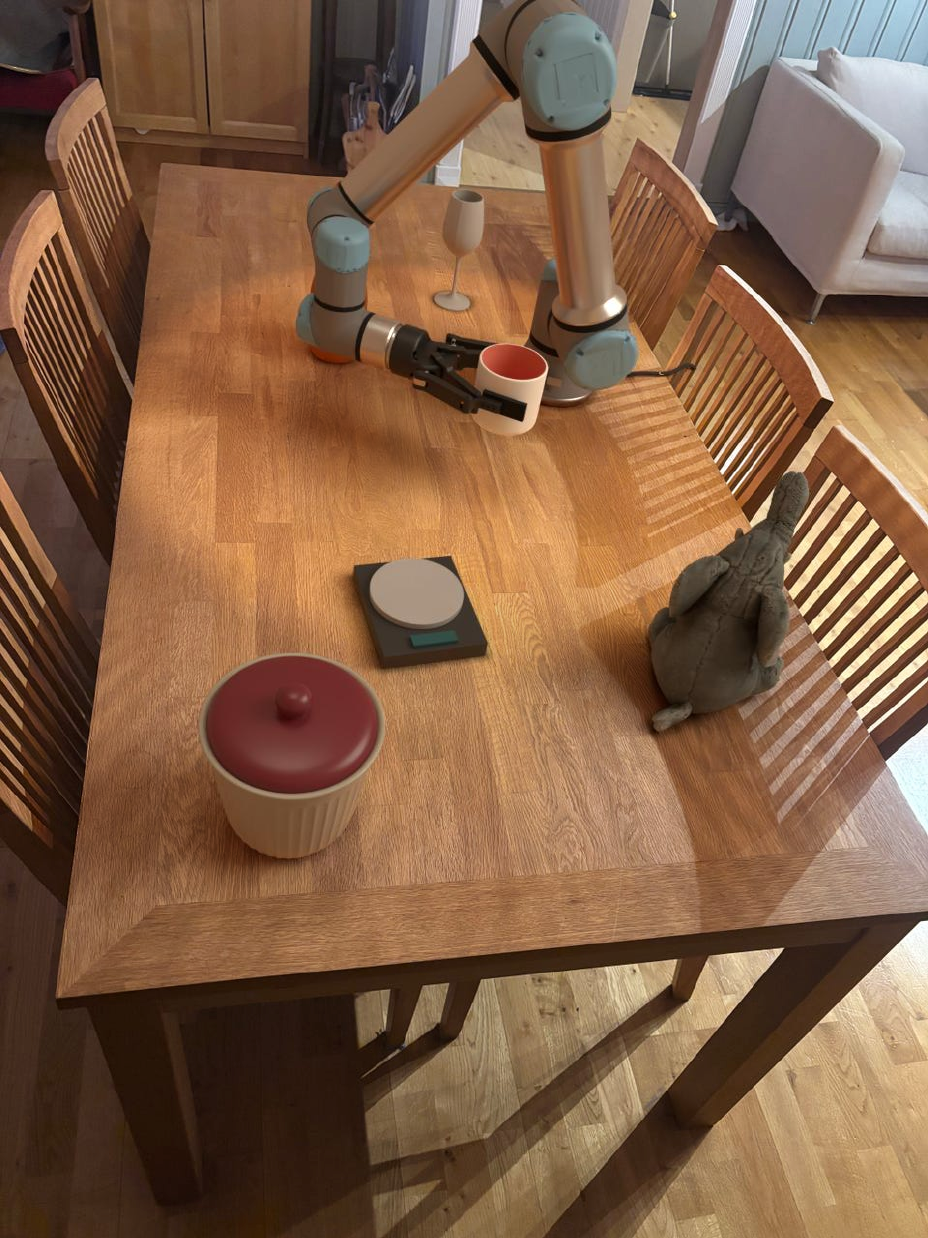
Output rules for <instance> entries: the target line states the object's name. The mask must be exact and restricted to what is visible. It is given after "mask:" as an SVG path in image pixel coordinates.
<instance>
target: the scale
mask: <svg viewBox="0 0 928 1238" xmlns="http://www.w3.org/2000/svg"><path fill="white" fill-rule="evenodd" d="M352 580H353V584H354V586H355V589H356V592H357V595H358V599H359V601H360V605H361V608H362V611H363V615H364V617H365V620H366V624H367V627H368V631H369V633H370V636H371V639H372V642H373V645H374V648H375V652H376V655H377V658H378V661H379V664H380V667H381V669H382V670H388V669H393V668H401V667H402V668H403V667H408V666H409V667H411V666H415V665H424V664H431V663H437V662H439V663H440V662H445V661H453V660H459V659H460V660H461V659H468V658H476V657H482V656H486V654H487V650H488V646H489V645H488V644H489V642H488V640H487V636H486V635H485V633H484V630H483V628H482V625H481V623H480V621H479V618H478V616H477V614H476V611H475V609H474V607H473V604H472V602H471V600H470V597H469V594H468V593H467V590H466V588H465V585H464V583H463V581H462V578H461V576H460V574H459V572H458V569H457V567H456V564H455V562H454V559H453V557H452V555H443V556H432V557H423V558H422V557H421V558H417V557H406V558H398V559H395V560H392V561H384V562H374V563H373V562H372V563H363V564H354V565H353V570H352Z"/></svg>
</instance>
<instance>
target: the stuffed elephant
mask: <svg viewBox="0 0 928 1238" xmlns="http://www.w3.org/2000/svg"><path fill="white" fill-rule="evenodd" d="M809 496H810V488H809V482H808V479H807V478H806V475H805V474H804V473H803V471H794V470H789V471H787V472H785V473H784V474H783V475H782V476H781V477H780V479H779V480H778V481H777V482H776V485H775V486H774V488H773V492H772V497H771V500H770V505H769V508H768V510H767V513H766V518H764V519H762V520H760V521H759V522H757V523H756V524H755V525H753V527H752V528H751V529H750V530H748V531H747V532H745V533H744V530H743V529H742V527H738V528H736V530H735V532H734V538H733V539H734V540H733V541H731V542H730V543H728V544H727V545H725V546H724V548H723V549H721V550H720V551H719V552H718V553H716V554H714V555H713V554H711V555H705V556H703V557H700V558H698V559H696V560H694V561H692V562H691V563H689V564H687V565H686V566H685V567H684V568H683V570H682V571H680V574H678V576H677V577H676V579H675V581H674V582H673V584H672V587H671V591H670V593H669V594H670V595H669V599H668V606H665V607H662V608H661V609H659V610H658V611H657V612H656V614H655V615H654V617H653V618H652V620H651V622H650V624H649V625H648V628H647V634H648V635H647V637H648V641H649V646H650V648H651V652H650V660H651V664H652V667H653V671H654V674H655V678H656V681H657V683H658V684H657V685H658V686H659V688H660V689H661V692H662V693H663V695H664V697H665V699H666V701H667V702H668V703H669V704H670V705H671V706H669V707H667V708H663V709H662V710H659V711H657V713H655V714H653V716H652V718H651V720H652V722H653V729H654V730H655V731H656V732H658V733H659V732H660V733H662V732H663V731H665V730H667V729H669V728H671V727H672V726H674V725H677V724H679V723H680V722H683V721H685V720H686V719H688V717H689V716H690V715H691V714H693V715H694V714H695V715H696V714H711V713H715V712H719V711H721V710H724V709H726V708H729V707H731V706H733V705H735V704H737V703H738V702H740V701H743V700H745V699H747V698H748V697H752V696H756V695H759V694H763V693H765V692H767V691H770V690H772V689H773V688H775V687H776V686H777V684H778V682H780V681H781V675H782V672H783V669H784V665H785V663H784V661H785V660H784V659H783V658H782V656H781V655H780V647H781V646H782V645H783V643H784V641H785V639H786V637H787V634H788V633H789V631H790V624H791V613H790V611H791V610H790V604H789V601H788V600H787V597H786V596H785V595H786V594H785V593H784V592H783V589H784V584H785V583H784V581H785V564H787V563H789V562H790V560H791V559H792V557H793V554H792V553H791V552H787V551H788V549H789V547H790V546H791V543H792V540H793V537H794V533H795V529H796V527H797V524H798V523H797V522H798V520H799V517H800V516H801V514H802V513H803V511H804V509H805V506H806V504H807V503H808V501H809Z"/></svg>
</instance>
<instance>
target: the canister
mask: <svg viewBox="0 0 928 1238" xmlns="http://www.w3.org/2000/svg"><path fill="white" fill-rule="evenodd" d="M200 707H201V708H200V711H199V715H198V719H197V720H198V722H197V734H198V739H199V744H200V748H201V750H202V752H203V755H204V757H205V758H206V760H207V761H208V763H209V764H210V766H211V767H212V770H213V774H214V777H215V782H216V786H217V789H218V794H219V795H220V800H221V803H222V806H223V809H224V813H225V815H226V817H227V820H228V822H229V825H230V826H231V828H232V829H233V831H234V833H235V834H236V836H238V837H239V838H240V839H241V841H242V842H243V843H244V844H246V845H248V846H249V847H250V849H253V850H255V851H257V852H258V853H260V854H264V855H267V856H268V857H274V858H277V859H287V860H289V859H299V858H303V857H309V856H310V855H312V854H317V853H319V851H321V850H324V849H325V850H326V848H327V847H328V846H329V845H331V844H333V843H335V842H336V840H337V838H339V837H340V836H341V835H342V834H343V833H344V831H345V829H346V828H347V827H348V825H349V824H350V821H351V819H352V818H353V815H354V813H355V811H356V808H357V805H358V803H359V799H360V798H361V794H362V791H363V788H364V785H365V782H366V779H367V777H368V773H369V770H370V768H371V767H372V766H373V764H374V763H375V761H376V759H377V758H378V756H379V754H380V752H381V750H382V747H383V744H384V741H385V736H386V715H385V710H384V707H383V705H382V702H381V700H380V698H379V696H378V694H377V693H376V691H375V689H374V688H373V687H372V686H371V684H370V683H369V682H368V681H367V680H366V679H365V678H364V677H362V675H360V674H359V673H358V672H357V671H355V670H354V669H352V668H351V667H349V666H347V665H345V664H344V663H342V662H339V661H337V660H335V659H332V658H330V657H326V656H323V655H319V654H313V653H307V652H294V651H293V652H292V651H291V652H290V651H289V652H278V653H272V654H271V653H270V654H266V655H263V656H259V657H256V658H253V659H250V660H248V661H246V662H245V661H244V662H243V663H241V664H239V665H238V666H235V667H234V668H233V669H231V670H230V671H228V672H227V673H226V674H224V675H223V676H221V678H219V680H217V682H216V683H214V685H213V686H212V687H211V689H210V690H209V692H208V693H207V694H206V696H205V698H204V700H203V702H202V704H201V706H200Z"/></svg>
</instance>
